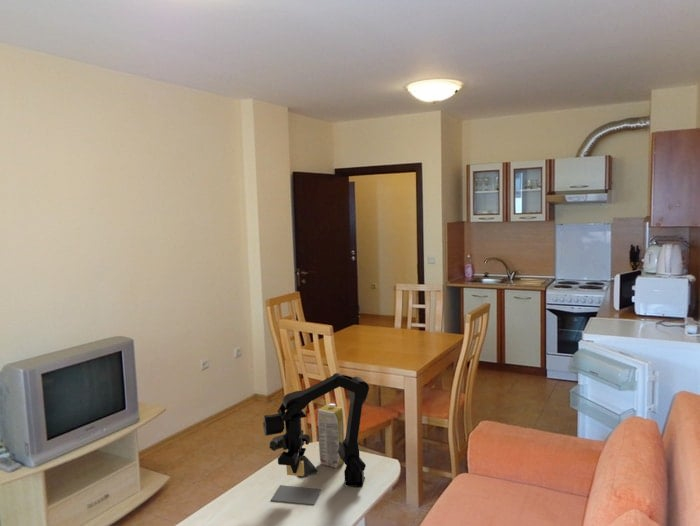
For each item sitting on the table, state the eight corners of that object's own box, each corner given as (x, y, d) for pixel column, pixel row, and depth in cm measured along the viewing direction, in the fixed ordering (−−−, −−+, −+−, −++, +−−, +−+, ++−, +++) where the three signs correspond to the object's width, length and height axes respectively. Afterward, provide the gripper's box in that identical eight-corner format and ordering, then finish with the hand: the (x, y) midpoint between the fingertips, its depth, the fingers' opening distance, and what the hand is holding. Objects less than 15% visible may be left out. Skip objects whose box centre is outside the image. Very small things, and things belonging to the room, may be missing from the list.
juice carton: (347, 461, 214) (345, 404, 211) (336, 470, 207) (334, 411, 204) (328, 456, 219) (326, 400, 216) (317, 464, 212) (314, 406, 209)
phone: (299, 476, 202) (286, 459, 215) (299, 479, 202) (287, 462, 215) (318, 471, 205) (305, 454, 219) (318, 473, 205) (305, 457, 219)
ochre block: (304, 473, 189) (303, 460, 189) (303, 476, 188) (302, 463, 187) (288, 472, 191) (287, 459, 190) (287, 474, 189) (286, 461, 188)
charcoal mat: (321, 489, 193) (321, 488, 193) (314, 505, 183) (314, 504, 183) (280, 486, 197) (280, 485, 197) (270, 501, 187) (270, 500, 187)
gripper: (280, 418, 198) (282, 457, 200) (262, 440, 180) (264, 483, 182) (309, 419, 196) (311, 459, 197) (293, 442, 178) (295, 486, 179)
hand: (295, 471), depth 189 cm, fingers closed on ochre block, 1 cm apart
